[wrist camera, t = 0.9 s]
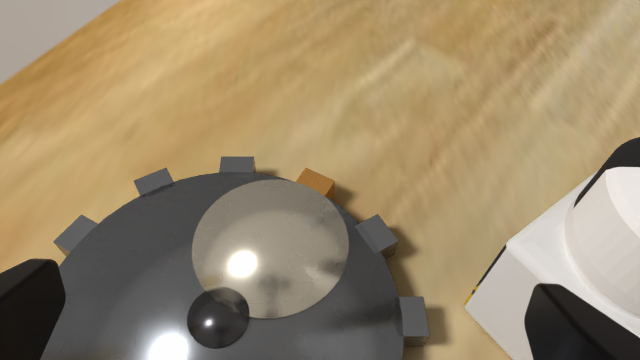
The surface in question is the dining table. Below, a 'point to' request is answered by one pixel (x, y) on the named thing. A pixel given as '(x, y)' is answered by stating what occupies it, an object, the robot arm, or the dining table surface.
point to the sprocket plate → (232, 275)
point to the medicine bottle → (571, 255)
